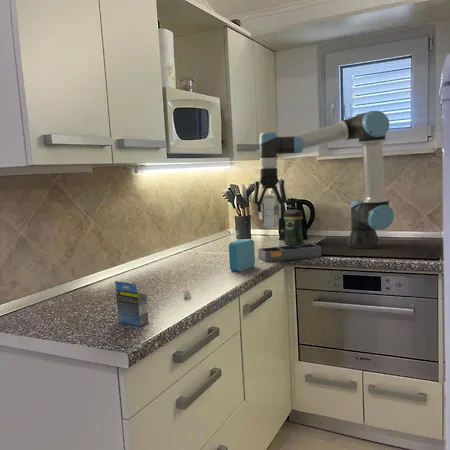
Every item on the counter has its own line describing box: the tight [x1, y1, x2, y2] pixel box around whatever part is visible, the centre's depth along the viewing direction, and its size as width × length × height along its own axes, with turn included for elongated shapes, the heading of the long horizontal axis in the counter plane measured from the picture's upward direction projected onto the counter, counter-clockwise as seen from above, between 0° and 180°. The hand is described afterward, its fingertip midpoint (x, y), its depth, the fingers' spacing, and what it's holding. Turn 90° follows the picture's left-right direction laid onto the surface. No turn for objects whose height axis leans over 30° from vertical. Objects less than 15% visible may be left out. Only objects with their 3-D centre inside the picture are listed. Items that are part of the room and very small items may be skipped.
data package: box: [228, 238, 256, 273], centre depth 192 cm, size 12×4×12 cm, turn 140°
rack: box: [257, 243, 322, 263], centre depth 211 cm, size 27×10×4 cm, turn 105°
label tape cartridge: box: [114, 280, 149, 327], centre depth 132 cm, size 9×4×12 cm, turn 56°
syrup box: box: [261, 193, 279, 228], centre depth 207 cm, size 6×6×14 cm
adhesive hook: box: [181, 289, 192, 300], centre depth 154 cm, size 3×3×3 cm
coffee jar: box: [283, 209, 305, 246], centre depth 243 cm, size 10×8×19 cm
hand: (270, 218), depth 207 cm, fingers closed on syrup box, 8 cm apart
